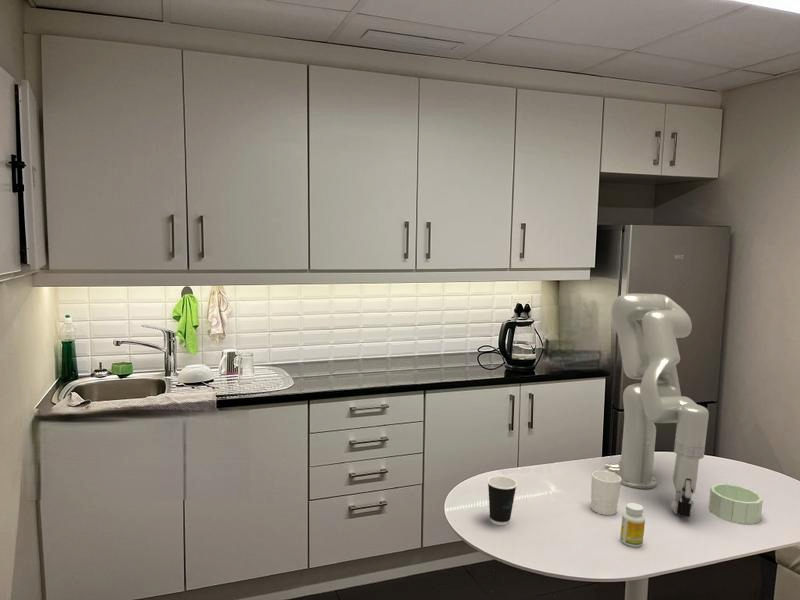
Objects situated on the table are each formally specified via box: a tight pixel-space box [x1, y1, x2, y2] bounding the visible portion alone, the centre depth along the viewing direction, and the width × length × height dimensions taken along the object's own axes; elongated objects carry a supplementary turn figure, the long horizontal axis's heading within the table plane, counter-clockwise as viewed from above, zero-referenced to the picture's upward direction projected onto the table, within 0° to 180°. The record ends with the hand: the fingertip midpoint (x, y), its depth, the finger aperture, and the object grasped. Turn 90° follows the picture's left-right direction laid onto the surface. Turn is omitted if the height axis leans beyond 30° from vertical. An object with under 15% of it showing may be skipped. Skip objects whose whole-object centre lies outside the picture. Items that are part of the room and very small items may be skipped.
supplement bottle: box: [619, 502, 646, 548], centre depth 151 cm, size 5×5×10 cm
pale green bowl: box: [708, 483, 764, 525], centre depth 170 cm, size 13×13×6 cm
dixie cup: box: [486, 475, 518, 526], centre depth 159 cm, size 8×8×11 cm
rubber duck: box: [670, 489, 694, 515], centre depth 168 cm, size 5×7×8 cm
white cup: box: [590, 470, 622, 516], centre depth 168 cm, size 8×8×10 cm
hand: (682, 510), depth 168 cm, fingers closed on rubber duck, 5 cm apart
